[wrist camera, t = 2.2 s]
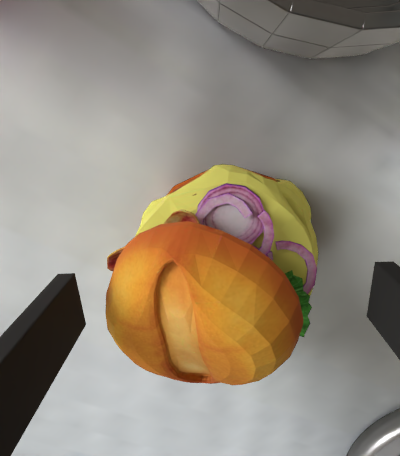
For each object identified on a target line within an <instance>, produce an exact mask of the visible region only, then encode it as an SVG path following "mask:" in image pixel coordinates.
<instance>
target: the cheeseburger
mask: <svg viewBox="0 0 400 456" xmlns="http://www.w3.org/2000/svg"><path fill="white" fill-rule="evenodd" d="M310 220H311V208H310V206H309V204H308V202H307V200H306V198H305V196H304V194H303V193H302V191H301V190H299V189H298V188H297V187H296V186H295V185H294V184H293V183H292V182H291V181H287V180H282V179H274V178H271V177H268V176H265V175H262V174H259V173H256V172H253V171H249V170H246V169H243V168H240V167H237V166H234V165H224V164H221V165H214V166H213V167H212V168H211V169H210V170H207V171H205V172H202V173H200V174H198V175H196V176H194V177H192V178H190V179H188V180H186V181H184V182H182V183H180V184H177V185H175V186H174V187H173V188H172V189H171V191H170V192H169V193H168V194H167V195H166V196H165V197H163V198H160V199H157V200H155V201H152V202H151V204H150V205H149V206H148V208H147V209H146V210H145V212H144V213H143V216H142V221H141V225H140V227H139V229H138V232H137V234H136V236H135V238H133V239H132V240H131V241H130V242H129V243H128V244H127V245H126V246H125V247H123V248H120V249H118V250H116V251H115V252H113V253H111V254H110V255H109V256H108V257H107V266H108V269H109V270H111V271H113V274H112V277H111V280H110V284H109V287H108V290H107V293H106V320H107V327H108V330H109V332H110V334H111V335H112V337H113V339H114V341H115V342H116V344H117V345H118V347H119V348H120V349H121V350H122V351H123V352H124V353H125V354H126V355H127V356H128V357H129V358H130V359H131V360H132V361H133V362H134V363H135V364H137V365H139V366H140V367H142V368H143V369H145V370H147V371H149V372H152V373H155V374H157V375H161V376H165V377H168V378H171V379H174V380H179V381H183V382H190V383H210V384H211V383H226V384H230V385H242V384H247V383H251V382H255V381H259V380H261V379H263V378H264V377H266V376H268V375H270V374H271V373H273V372H274V371H275V370H276V369H277V368H278V367H279V366H280V365H282V364H283V363H284V362H285V361H286V360H287V359H288V358H289V357H290V355H291V354H292V352H293V350H294V348H295V346H296V344H297V342H298V339H299V336H302V337H304V334H305V332H306V330H307V328H308V326H309V325H310V322H309V318H308V314H309V312H310V310H311V308H312V307H311V305H310V304H309V303H308V302H309V298H310V295H311V293H312V289H313V286H314V285H315V279H316V272H317V260H318V247H317V239H316V235H315V232H314V229H313V227H312V224H311V222H310Z"/></svg>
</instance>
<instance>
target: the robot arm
mask: <svg viewBox="0 0 400 456" xmlns="http://www.w3.org/2000/svg"><path fill="white" fill-rule="evenodd" d="M367 317H368V318H369V320H370V321H371V322H372V324H373V325H374V326H375V328H376V329H377V330H378V332H379V333H380V334H381V336H382V337H383V338H384V340H385V341H386V342H387V344H388V345H389V346H390V348H391V349H392V350H393V352H394V353H395V354H396V356H397V357H398V358H399V359H400V267H399V266H398V265H397V264H396V263H394V262H375V265H374V272H373V279H372V285H371V292H370V298H369V305H368V312H367ZM85 325H86V323H85V318H84V314H83V309H82V305H81V300H80V295H79V291H78V286H77V282H76V277H75V273H72V274H58V275H57V276H56V277H55V278H54V279H53V280H52V281H51V282H50V283H49V284H48V285H47V286H46V288H45V289H44V290H43V291H42V292H41V293H40V294H39V295H38V296H37V297H36V298H35V300H34V301H33V302H32V303H31V304H30V305H29V306H28V307H27V308H26V309H25V310H24V312H23V313H22V314H21V315H20V316H19V317H18V318H17V319H16V320H15V321H14V322H13V324H12V325H11V326H10V327H9V328H8V329H7V330H6V331H5V332H4V333H3V334H2V336H1V337H0V456H11V454H12V452H13V451H14V449H15V447H16V445H17V444H18V442H19V440H20V438H21V437H22V435H23V433H24V431H25V430H26V428H27V426H28V424H29V423H30V421H31V419H32V417H33V416H34V414H35V412H36V411H37V409H38V407H39V405H40V404H41V402H42V400H43V398H44V397H45V395H46V393H47V391H48V390H49V388H50V386H51V384H52V383H53V381H54V379H55V377H56V376H57V374H58V372H59V370H60V369H61V367H62V365H63V363H64V362H65V360H66V358H67V357H68V355H69V353H70V351H71V350H72V348H73V346H74V344H75V343H76V341H77V339H78V337H79V336H80V334H81V332H82V330H83V329H84V327H85ZM347 456H400V409H397V410H395V411H393V412H391V413H389V414H388V415H386V416H384V417H382V418H381V419H379V420H378V421H376V422H375V423H374V424H372V425H371V426H370V427H369V428H367V429H366V430H365V431H364V432H363V433H362V434H361V435H360V436H359V437H358V439H357V440H356V441H355V442H354V444H353V445H352V447H351V448H350V450H349V452H348V454H347Z"/></svg>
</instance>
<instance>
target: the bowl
mask: <svg viewBox="0 0 400 456" xmlns="http://www.w3.org/2000/svg"><path fill="white" fill-rule="evenodd" d="M197 1H198V2H199V3H200V4H201V5H202V6H203V7H204V8H205V9H206V10H207V12H208V13H209V14H210V15H211V16H212V17H213V18H214V19H215V20H216V21H219V23H220V24H222V25H223V26H225V27H227V28H228V29H230V30H232V31H234V32H235V33H237V34H239V35H240V36H242V37H244V38H246V39H247V40H249V41H251V42H253V43H254V44H256V45H258V46H259V47H263V48H264V49H269V50H273V51H277V52H282V53H286V54H290V55H295V56H299V57H303V58H311V59H317V58H332V57H347V56H359V55H364V54H366V53H369V52H372V51H375V50H378V49H381V48H384V47H386V46H389V45H392V44H395V43H398V42H400V0H197Z"/></svg>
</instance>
